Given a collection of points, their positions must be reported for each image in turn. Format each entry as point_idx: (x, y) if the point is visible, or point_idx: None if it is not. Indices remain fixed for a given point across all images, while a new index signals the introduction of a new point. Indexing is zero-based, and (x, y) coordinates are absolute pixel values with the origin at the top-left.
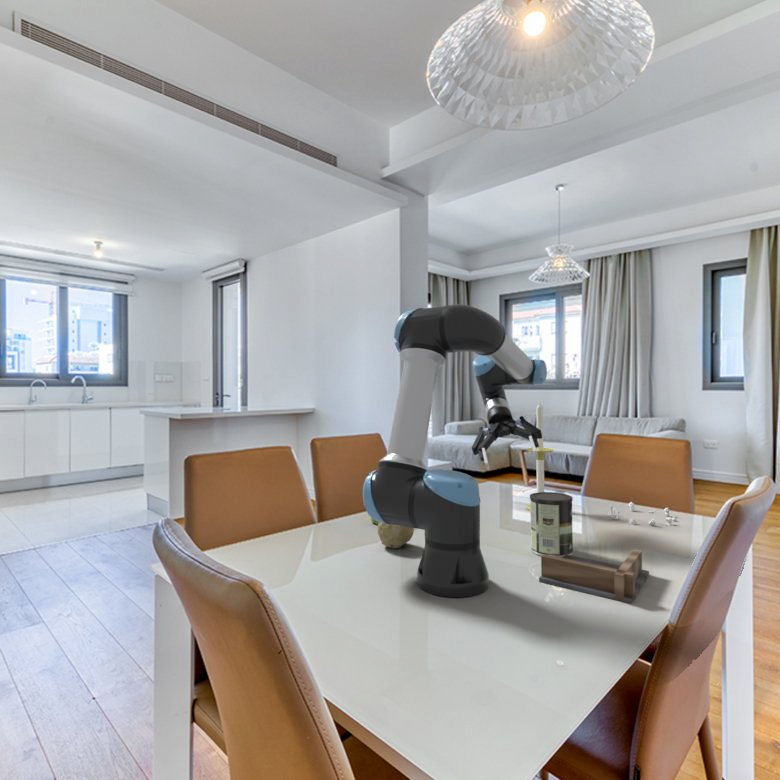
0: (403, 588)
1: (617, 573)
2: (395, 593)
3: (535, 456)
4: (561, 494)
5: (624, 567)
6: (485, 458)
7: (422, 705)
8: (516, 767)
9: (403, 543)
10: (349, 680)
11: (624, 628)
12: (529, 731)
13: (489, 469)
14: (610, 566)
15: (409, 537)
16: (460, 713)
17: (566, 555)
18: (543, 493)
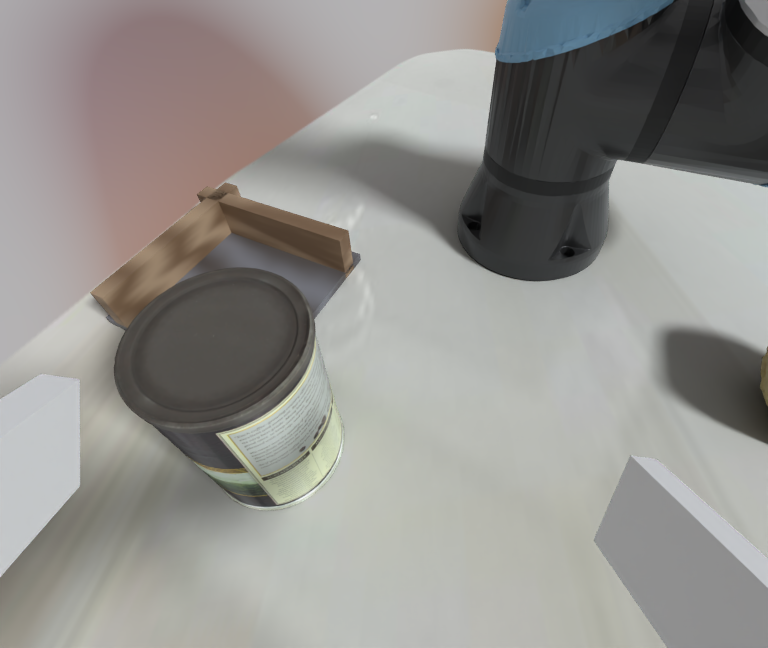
0: None
1: (229, 188)
2: (611, 189)
3: (75, 462)
4: (139, 388)
5: (200, 209)
6: (699, 512)
7: (490, 72)
8: (420, 55)
9: (761, 377)
10: None
11: (278, 167)
12: (410, 70)
13: (597, 539)
14: None
15: (764, 389)
16: (460, 72)
17: None
18: (222, 406)
